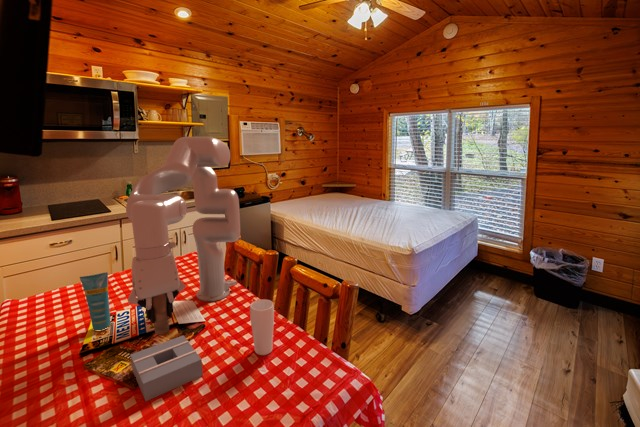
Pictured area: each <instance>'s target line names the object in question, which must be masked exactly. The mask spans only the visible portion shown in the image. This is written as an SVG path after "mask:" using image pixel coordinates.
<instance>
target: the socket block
mask: <svg viewBox="0 0 640 427" xmlns="http://www.w3.org/2000/svg"><path fill="white" fill-rule="evenodd" d="M130 362H131V368H132V373H133V375H134V378H135V377H136V378H135V379H136V382H137V384H138V387H139V389H140V391H141V394H142V396H143V398H144V402H148V401H150V400H151V399H152V400H153V399H154V398H157V397H159V396H161V395H163V394H166V393H168V392H170V391H172V390H174V389H177V388H178V387H182V386H183V385H185V384H187V383H188V384H189V382H192V381H194V380H196V379H199V378H201V377H203V376H204V374H203V373H204V372H203V371H204V370H203V363H202V362H203V361H202V358H201V356H199V354H198V353H197V350H195V349H194V347H193V346H192V345H191V344H190V341H189V340H188V339H187V338H186V337H185V335H183V334H182V335H180V336H178V337H175V338H172V339H169V340H167V341H164V342H161V343H159V344H155V345H152V346H150V347H148V348H144V349H142V350H139V351H137V352H134V353H130Z"/></svg>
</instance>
